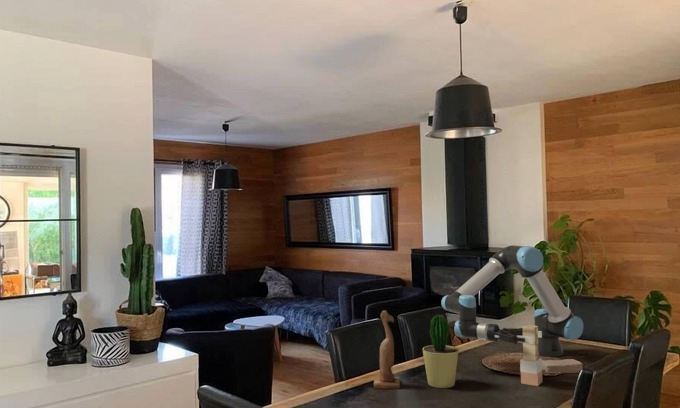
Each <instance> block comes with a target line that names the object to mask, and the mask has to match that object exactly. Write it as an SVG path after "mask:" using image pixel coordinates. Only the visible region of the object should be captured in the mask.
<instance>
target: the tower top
mask: <svg viewBox="0 0 680 408" xmlns="http://www.w3.org/2000/svg"><path fill="white" fill-rule="evenodd" d="M542 360H543V359H542V358H539V359H538V360H536V361H529V360H523V357H522V358H520V360H519V365H520V367H519V371H520V373H521V372H526V373H532V374H538V373H539V372H541V371H542V372H543V370H542Z"/></svg>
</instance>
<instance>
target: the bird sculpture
mask: <svg viewBox="0 0 680 408" xmlns="http://www.w3.org/2000/svg"><path fill="white" fill-rule="evenodd" d="M380 319H381V321H382V324H383V327H384V331H385V339H383V341H382V342H381V344H380V346H379V376H374V377H373V390H375V389H376V390H377V389H379V390H384V389H386V390H400V385H401V384H400V377H399V376H395V375H394V373H393V371H392V367H394V364H395V341H394V336H393V332H392V330H391V328H390V325H389V323H393V324H394V323H395V319H394V316H393V315H390V314H389V313H388V311H387V310H382V311H381V313H380Z"/></svg>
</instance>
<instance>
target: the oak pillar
mask: <svg viewBox="0 0 680 408" xmlns="http://www.w3.org/2000/svg"><path fill="white" fill-rule="evenodd" d="M521 329H523V335H522V336H527V337H534V344H528V343H522V358H523V360H529V361H536V360H538V359H539V356H540V355H539V352H538V326H535V325H531V324H530V325H529V324H525V325H523V326H522V328H521Z"/></svg>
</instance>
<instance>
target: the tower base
mask: <svg viewBox="0 0 680 408" xmlns="http://www.w3.org/2000/svg"><path fill="white" fill-rule="evenodd" d="M520 383H521V384H523V385H529V386H534V387H538V386H539V385H541V384H542V383H543V370H542V371H541V372H539V373H538V374H532V373H526V372H521V371H520Z"/></svg>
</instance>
